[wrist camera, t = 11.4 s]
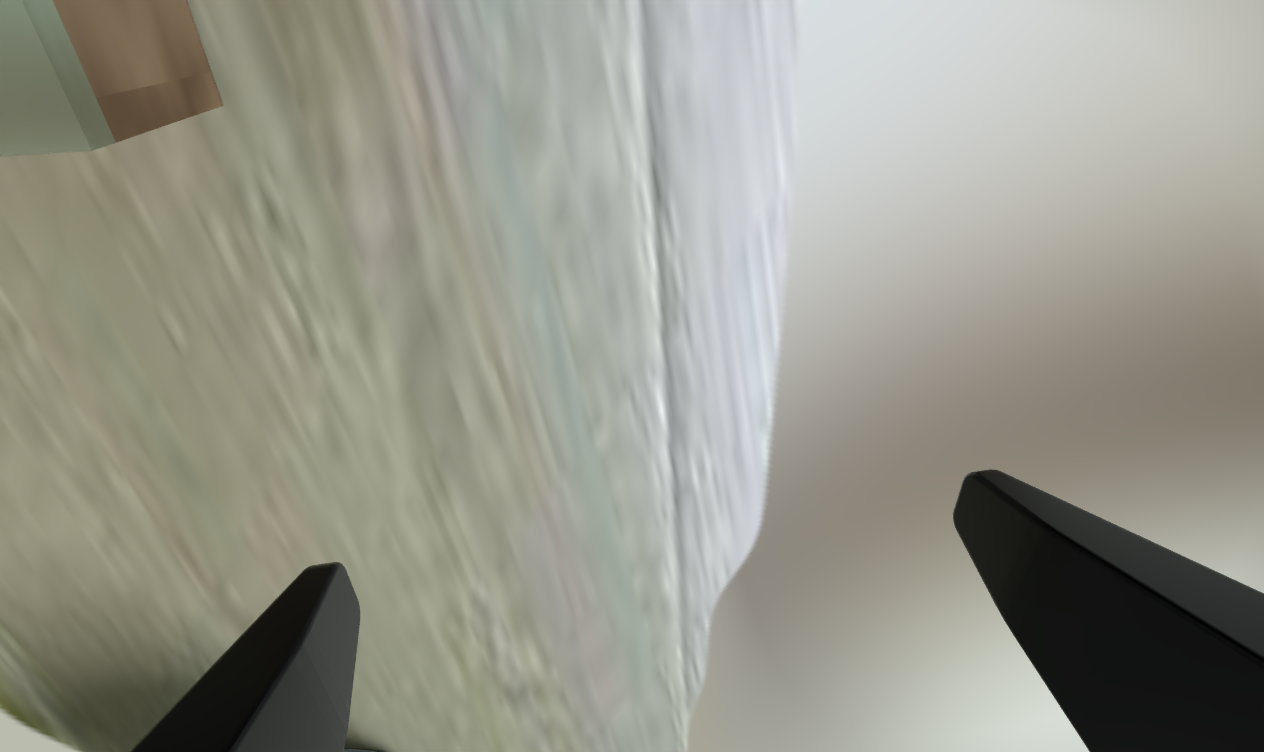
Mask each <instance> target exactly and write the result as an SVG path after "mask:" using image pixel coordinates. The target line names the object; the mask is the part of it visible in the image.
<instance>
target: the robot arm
mask: <svg viewBox="0 0 1264 752" xmlns="http://www.w3.org/2000/svg"><path fill="white" fill-rule="evenodd" d="M953 519H954V524H955V528H956V530H957V532H958V534H959V536H960V538H961V540H962V541H963V543H964V545H965V547H966V549H967V551H968V553H969V555H970V557H971V559H972V560H973V562H974V564H975V566H976V568H977V570H978V572H979V574H980V576H981V578H982V580H983V582H984V584H985V585H986V587H987V589H988V591H989V593H990V595H991V597H992V599H993V601H994V603H995V605H996V606H997V608H998V610H999V612H1000V613H1001V615H1002V617H1003V619H1004V621H1005V622H1006V624H1007V625H1008V627H1009V628H1010V630H1011V632H1012V633H1013V635H1014V636H1015V638H1016V639H1017V641H1018V643H1019V644H1020V646H1021V647H1022V649H1023V650H1024V652H1025V653H1026V655H1027V656H1028V658H1029V659H1030V661H1031V662H1032V664H1033V665H1034V667H1035V669H1036V670H1037V672H1038V673H1039V675H1040V676H1041V678H1042V679H1043V681H1044V682H1045V684H1046V685H1047V687H1048V689H1049V690H1050V691H1051V693H1052V695H1053V696H1054V698H1055V699H1056V701H1057V702H1058V704H1059V705H1060V707H1061V709H1062V710H1063V712H1064V713H1065V714H1066V716H1067V718H1068V719H1069V721H1070V722H1071V724H1072V725H1073V727H1074V728H1075V730H1076V731H1077V733H1078V734H1079V736H1080V738H1081V739H1082V740H1083V742H1084V744H1085V745H1086V747H1087V748H1088V750H1089V751H1090V752H1264V593H1262V592H1259V591H1257V590H1255V589H1253V588H1251V587H1249V586H1246V585H1244V584H1242V583H1240V582H1238V581H1236V580H1234V579H1231V578H1229V577H1227V576H1225V575H1223V574H1221V573H1218V572H1216V571H1214V570H1212V569H1210V568H1208V567H1206V566H1203V565H1201V564H1199V563H1197V562H1195V561H1193V560H1190V559H1188V558H1186V557H1184V556H1181V555H1180V554H1178V553H1175V552H1173V551H1171V550H1169V549H1167V548H1164V547H1162V546H1160V545H1158V544H1156V543H1154V542H1151V541H1149V540H1147V539H1145V538H1143V537H1141V536H1139V535H1136V534H1134V533H1132V532H1130V531H1128V530H1126V529H1124V528H1121V527H1119V526H1117V525H1115V524H1113V523H1111V522H1108V521H1106V520H1104V519H1102V518H1100V517H1098V516H1096V515H1093V514H1091V513H1089V512H1087V511H1085V510H1083V509H1081V508H1078V507H1076V506H1074V505H1072V504H1070V503H1068V502H1065V501H1063V500H1061V499H1059V498H1057V497H1055V496H1053V495H1050V494H1048V493H1046V492H1044V491H1042V490H1040V489H1037V488H1035V487H1033V486H1031V485H1029V484H1026V483H1024V482H1022V481H1020V480H1018V479H1016V478H1014V477H1011V476H1009V475H1007V474H1005V473H1003V472H1001V471H998V470H984V471H977V472H971V473H969V474H967V475H966V477H965V478H964V480H963V483H962V486H961V489H960V492H959V496H958V499H957V502H956V505H955V508H954V512H953ZM359 625H360V606H359V602H358V599H357V596H356V594H355V591H354V589H353V586H352V584H351V581H350V579H349V576H348V574H347V571H346V569H345V567H344V566H343V565H342V564H341V563H339V562H333V563H325V564H318V565H312V566H309V567H308V568H306V569H305V570H304V571H303V572H302V573H301V574H300V575H299V576H298V577H297V578H296V579H295V580H294V581H293V582H292V583H291V584H290V585H289V586H288V587H287V588H286V589H285V590H284V591H283V592H282V593H281V595H280V596H279V597H278V598H277V599H276V600H275V601H274V602H273V603H272V604H271V605H270V606H269V607H268V608H267V609H266V610H265V611H264V612H263V613H262V614H261V615H260V616H259V617H258V619H257V620H256V621H255V622H254V623H253V624H252V625H251V626H250V627H249V628H248V629H247V630H246V631H245V632H244V633H243V634H242V635H241V636H240V637H239V638H238V639H237V640H236V641H235V643H234V644H233V645H232V646H231V647H230V648H229V649H228V650H227V651H226V652H225V653H224V654H223V655H222V656H221V657H220V658H219V659H218V660H217V661H216V662H215V663H214V664H213V665H212V667H211V668H210V669H209V670H208V671H207V672H206V673H205V674H204V675H203V676H202V677H201V678H200V679H199V680H198V681H197V682H196V683H195V684H194V685H193V686H192V687H191V688H190V690H189V691H188V692H187V693H186V694H185V695H184V696H183V697H182V698H181V699H180V700H179V701H178V702H177V703H176V704H175V705H174V706H173V707H172V708H171V709H170V710H169V711H168V712H167V714H166V715H165V716H164V717H163V718H162V719H161V720H160V721H159V722H158V723H157V724H156V725H155V726H154V727H153V728H152V729H151V730H150V731H149V732H148V733H147V734H146V735H145V736H144V738H143V739H142V740H141V741H140V742H139V743H138V744H137V745H136V746H135V747H134V748H133V749H132V750H131V751H130V752H343V751H344V746H345V741H346V736H347V730H348V722H349V715H350V706H351V697H352V688H353V679H354V670H355V661H356V652H357V643H358V634H359Z"/></svg>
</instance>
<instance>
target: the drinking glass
mask: <svg viewBox="0 0 1264 752" xmlns="http://www.w3.org/2000/svg"><path fill="white" fill-rule="evenodd" d="M343 752H377V751H370V750H359V749H344V751H343Z"/></svg>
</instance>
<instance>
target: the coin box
mask: <svg viewBox="0 0 1264 752" xmlns="http://www.w3.org/2000/svg"><path fill="white" fill-rule="evenodd" d="M220 106H223V103H222V101H221V98H220V95H219V92H218V89H217V86H216V83H215V81H214V78H213V75H212V72H211V69H210V66H209V63H208V61H207V58H206V55H205V52H204V49H203V46H202V43H201V41H200V38H199V35H198V32H197V29H196V26H195V24H194V21H193V18H192V15H191V12H190V9H189V6H188V4H187V1H186V0H0V157H5V156H20V155H35V154H50V153H65V152H80V151H93V150H96V149H98V148H101V147H104V146H107V145H110V144H113V143H116V142H119V141H122V140H125V139H127V138H130V137H133V136H136V135H139V134H142V133H145V132H148V131H151V130H154V129H156V128H159V127H162V126H165V125H168V124H171V123H174V122H177V121H180V120H183V119H185V118H188V117H191V116H194V115H197V114H200V113H203V112H206V111H209V110H212V109H214V108H217V107H220Z"/></svg>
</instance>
